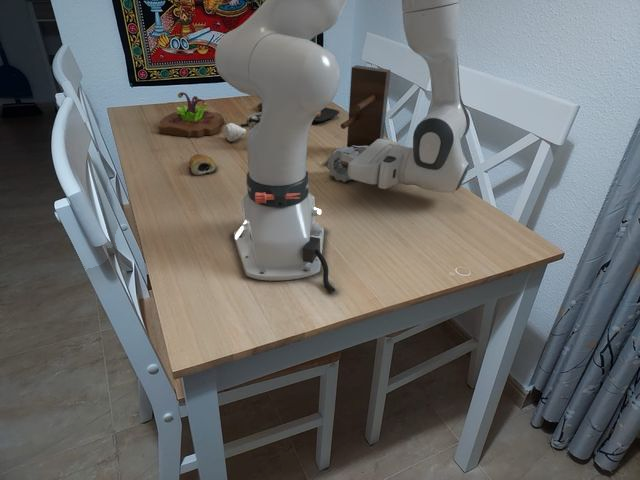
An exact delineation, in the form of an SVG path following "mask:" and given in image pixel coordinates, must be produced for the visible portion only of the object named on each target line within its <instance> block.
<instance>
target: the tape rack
mask: <svg viewBox="0 0 640 480" xmlns="http://www.w3.org/2000/svg"><path fill="white" fill-rule="evenodd" d="M390 78H391V69H387V68H379V67H371V66H365V65H359V64H358V65H354V66H352V67H351V71H350V87H349V88H350V90H349V106H348V119H346V120H345V121H344V122H342V123H341V124H340V128H341V129H342V130H345V129H347V139H346V146H347V147H348V148H349V147H352V146H353V145H354V146H370V145H371V144H372V143H373V142H375V141H376V140H377V139H384V136H385V127H386V117H387V108H388V98H389V89H390V81H391V79H390ZM339 160H340V164H341V165H342V166H343V168H346V169H347V170H348V164H349V163H347V162H345V161H342V160H341V158H340V159H339ZM328 164H329V163H328V162H327V161H326V166H327V165H328Z"/></svg>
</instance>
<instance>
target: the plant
mask: <svg viewBox="0 0 640 480" xmlns="http://www.w3.org/2000/svg"><path fill="white" fill-rule="evenodd" d="M184 96H185V98H186V101H187V105H183V107H180V106H176V109H177V110H178V111H173V112H171V113H170V114H168V115H165V116H164V117H163V118H162V119H160V121H159V123H160V125H159V127H158V128H159V133H160V134H161V135H162V134H163V135H168V136H169V135H170V136H171V135H172V136H177V137H187V138H191V137H193V138H202V137H203V136H213V135H216V134H218V133H219V132H220V128H221V126H222V125H224V123H225V119H224V117H223V115H222V114H221V113H219V112H218V111H217V112H213V111H210V110H207V109H208V108H207V102H206V101H205V100H204V99H202V98H199V97H198V96H196V95H195V96H193V97H192V98H191V99H190V97H189V95H188V94H187V93H186V92H182V91H180V92H179V93H178V94H177V97H178V98H179V99H181V98H183V97H184ZM198 102H201V103H202V106H203V107H202V108H201V109H200V105H197V104H198Z"/></svg>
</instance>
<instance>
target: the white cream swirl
mask: <svg viewBox="0 0 640 480" xmlns="http://www.w3.org/2000/svg"><path fill="white" fill-rule="evenodd" d="M224 134H225V137H226V139H227V141H228V142H230V143H231V142H235V141H237V140H239V139H240V138H241V137H242V136H243V135H245V134H247V129H245V128H243V127H242V126H241V125H238V124H236V123H233V122H229V123H227V124H226V125H224Z"/></svg>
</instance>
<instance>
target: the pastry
mask: <svg viewBox="0 0 640 480" xmlns="http://www.w3.org/2000/svg"><path fill="white" fill-rule="evenodd" d="M188 166H189V168H190V172H191V173H192V174H193V175H195V176H200V175H201V176H202V175H204V174H209V173H212V172H215V170H216V167H217V164H216V161H214V159H213V158H212V157H211V156H209V155H207V154H198V153H197V154H194V155H193V156H191V157H190V159H189V161H188Z"/></svg>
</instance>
